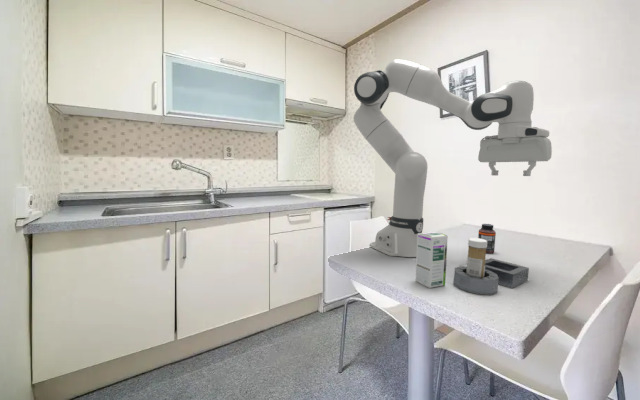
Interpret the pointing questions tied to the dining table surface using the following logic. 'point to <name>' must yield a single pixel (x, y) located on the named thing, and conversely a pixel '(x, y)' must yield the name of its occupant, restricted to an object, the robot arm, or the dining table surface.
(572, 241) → the dining table surface
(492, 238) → the supplement bottle
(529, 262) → the dining table surface
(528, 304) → the dining table surface
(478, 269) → the sprinkles bottle
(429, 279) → the syrup box
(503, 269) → the square socket
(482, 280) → the round socket
